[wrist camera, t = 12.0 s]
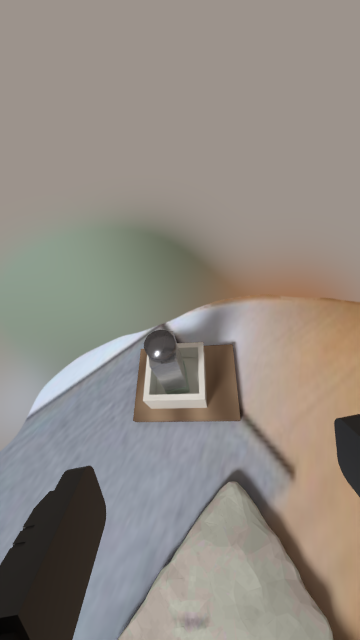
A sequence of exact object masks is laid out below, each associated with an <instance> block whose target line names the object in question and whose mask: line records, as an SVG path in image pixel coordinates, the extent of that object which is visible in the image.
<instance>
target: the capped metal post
mask: <svg viewBox="0 0 360 640" xmlns="http://www.w3.org/2000/svg"><path fill="white" fill-rule="evenodd" d="M144 350H145V352H146V354H147V355H148V357H149V367H150V368H151V370H152V371H153V373H154V374H155V376H156V377H157V379H158V380H159V382H160V383H161V385H162V386H163V388H164V389H165V392H166V394H182V393H188V392H190V390H189V384H188V377H187V371H186V366H185V363H184V361H183V359H182V356H181V353H180V351H179V348H178V345H177V342H176V339H175V336H174V333H173V331H171V332H168V331H165V330H157V331H154V332H152V333H151V334H149V335H148V336H147V338H146V340H145V342H144Z"/></svg>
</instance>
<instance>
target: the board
mask: <svg viewBox="0 0 360 640" xmlns="http://www.w3.org/2000/svg"><path fill="white" fill-rule="evenodd" d="M204 351H205V366H206V391H207V408H163V409H151V408H150V407H149V406H148V405H147V404H146V403H145V402H144V401H143V395H144V384H145V373H146V362H147V354H146V352H145V350H144V349H141V353H140V363H139V372H138V381H137V390H136V399H135V408H134V417H133V421H135V422H187V421H240V411H239V401H238V392H237V382H236V373H235V363H234V354H233V344H230V345H210V346H204Z"/></svg>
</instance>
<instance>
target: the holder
mask: <svg viewBox="0 0 360 640" xmlns="http://www.w3.org/2000/svg"><path fill="white" fill-rule="evenodd" d="M177 345H178V348H179V351H180V353H181V356H182V359H183V361H184V363H185V366H186V371H187V377H188V384H189V390H190V392H188V393H182V394H166V392H165V389H164V388H163V386H162V385H161V383H160V382H159V380H158V379H157V377H156V376H155V374H154V373H153V371H152V370H151V368H150V367H149V357H148V355H147V362H146V373H145V384H144V395H143V401H144V402H145V403H146V404H147V405H148V406H149V407H150V408H151V409H163V408H207V391H206V366H205V351H204V344H203V342H193V343H177Z"/></svg>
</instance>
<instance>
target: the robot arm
mask: <svg viewBox="0 0 360 640" xmlns="http://www.w3.org/2000/svg"><path fill="white" fill-rule="evenodd" d="M334 426H335V436H336V446H337V457H338V462H339V466H340V468H341V471H342V473H343V475H344V477H345V478H346V480H347V481H348V483H349V484H350V485H351V487H352V488H353V489H354V490H355V492H356V493H357V494H358V496H359V497H360V414H357V415H352V416H347V417H342V418H337V419H336V420H335V423H334ZM105 521H106V505H105V501H104V498H103V495H102V492H101V489H100V486H99V483H98V480H97V478H96V475H95V472H94V469H93V468H92V467H91V466H85V467H80V468H75V469H70V470H67V471H65V472H64V474H63V475H62V477H61V479H60V481H59V483H58V484H57V486H56V488H55V490H54V491H50V492H49V493H48V494H47V495H46V496H45V497H44V498H43V499H42V500H41V501H40V502H39V504H38V505H37V506H36V507H35V508H34V509H33V511H32V513H31V514H30V516H29V518H28V519H27V521H26V523H25V524H24V526H23V530H22V531H20V533H19V535H18V536H17V538H16V540H15V541H14V543H13V547H12V548H10V550H9V551H8V553H7V555H6V556H5V558H4V560H3V561H2V563H1V565H0V640H72V639H73V635H74V632H75V628H76V625H77V621H78V618H79V614H80V611H81V607H82V604H83V600H84V596H85V593H86V589H87V586H88V582H89V579H90V575H91V572H92V568H93V565H94V561H95V558H96V554H97V551H98V547H99V544H100V540H101V537H102V533H103V530H104V526H105Z"/></svg>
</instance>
